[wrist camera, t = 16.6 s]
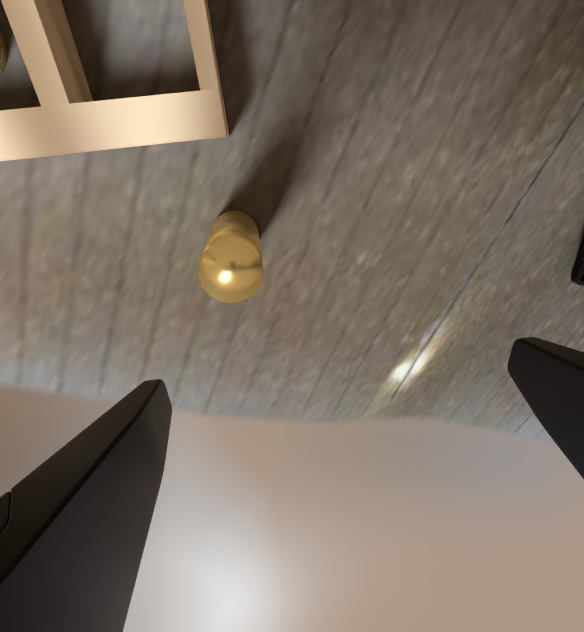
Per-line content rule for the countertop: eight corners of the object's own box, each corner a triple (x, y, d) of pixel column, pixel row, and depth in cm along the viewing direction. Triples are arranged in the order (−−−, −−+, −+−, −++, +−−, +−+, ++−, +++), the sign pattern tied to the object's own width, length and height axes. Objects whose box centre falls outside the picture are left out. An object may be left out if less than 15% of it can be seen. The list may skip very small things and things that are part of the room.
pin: (254, 207, 17) (258, 237, 12) (261, 252, 19) (267, 298, 13) (207, 213, 17) (191, 246, 12) (217, 258, 18) (205, 306, 13)
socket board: (188, -118, 12) (175, -175, 10) (229, 136, 16) (226, 136, 14) (-175, -95, 11) (-276, -150, 9) (-41, 166, 15) (-90, 170, 13)
